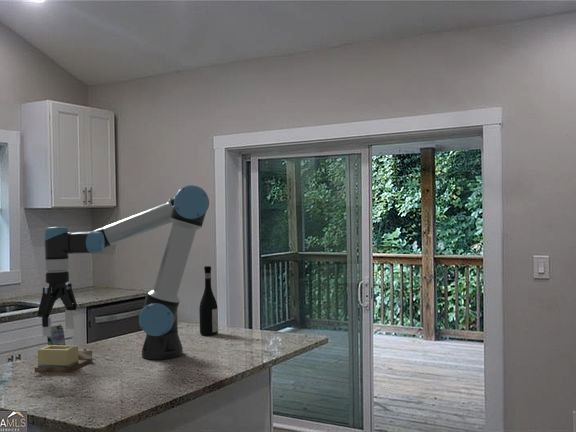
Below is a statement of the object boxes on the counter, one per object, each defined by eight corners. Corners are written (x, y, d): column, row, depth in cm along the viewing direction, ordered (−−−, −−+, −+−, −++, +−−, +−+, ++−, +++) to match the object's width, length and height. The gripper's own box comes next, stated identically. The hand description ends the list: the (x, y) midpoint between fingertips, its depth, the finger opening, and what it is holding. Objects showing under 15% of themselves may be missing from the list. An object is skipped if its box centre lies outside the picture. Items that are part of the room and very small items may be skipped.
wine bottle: (218, 332, 263) (217, 265, 263) (217, 335, 255) (215, 266, 255) (200, 332, 263) (199, 265, 263) (198, 336, 255) (197, 267, 255)
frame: (78, 362, 206) (78, 345, 206) (67, 367, 199) (66, 350, 199) (49, 362, 208) (49, 345, 208) (38, 367, 201) (37, 349, 202)
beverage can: (60, 358, 218) (60, 326, 218) (42, 358, 220) (42, 326, 220) (70, 354, 225) (69, 323, 225) (52, 354, 226) (52, 323, 226)
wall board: (92, 361, 213) (92, 348, 213) (69, 372, 198) (69, 358, 198) (59, 360, 215) (59, 348, 215) (34, 371, 201) (34, 357, 201)
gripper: (67, 268, 217) (68, 325, 217) (24, 274, 192) (26, 339, 192) (86, 267, 215) (87, 325, 215) (45, 274, 191) (47, 340, 191)
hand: (58, 332), depth 204 cm, fingers open, 13 cm apart
